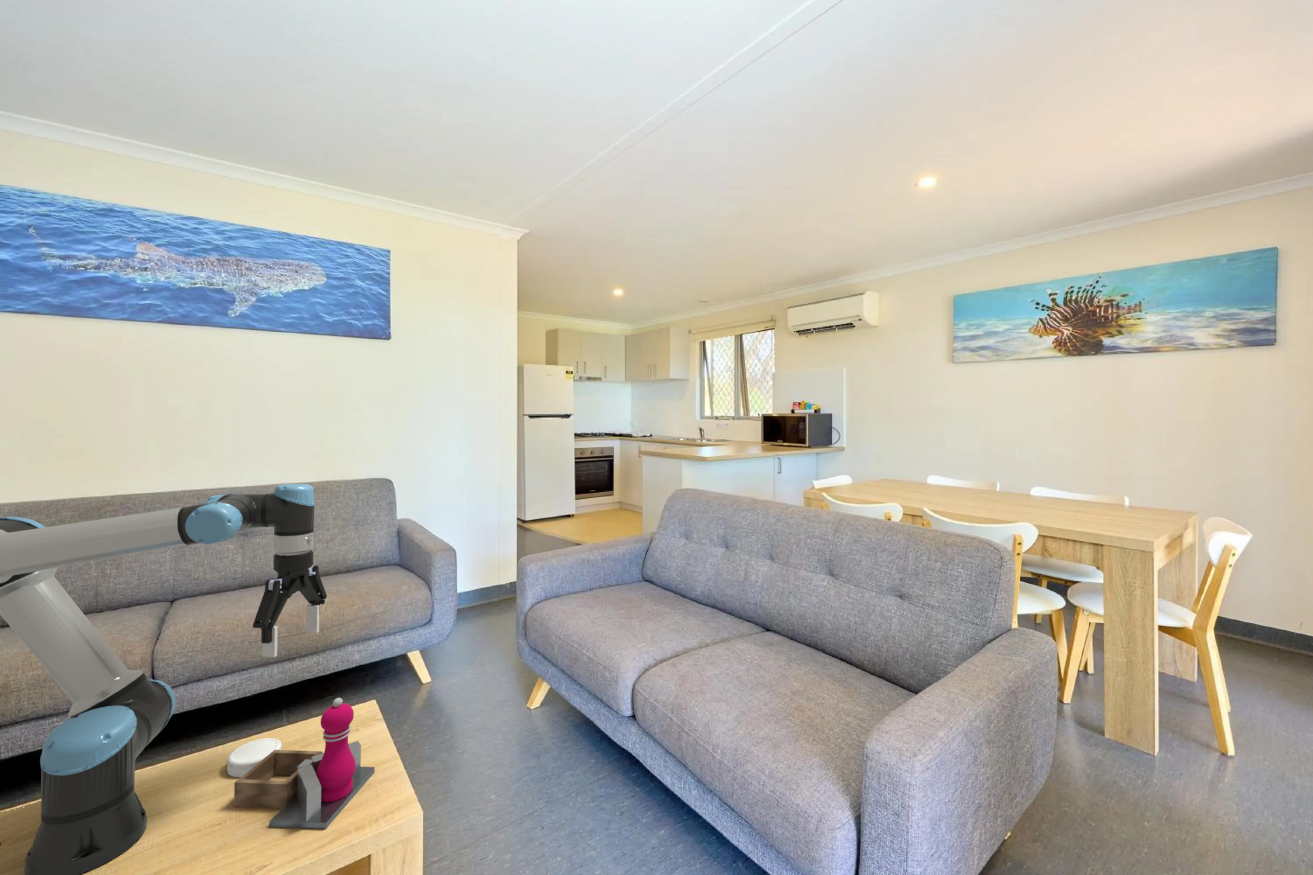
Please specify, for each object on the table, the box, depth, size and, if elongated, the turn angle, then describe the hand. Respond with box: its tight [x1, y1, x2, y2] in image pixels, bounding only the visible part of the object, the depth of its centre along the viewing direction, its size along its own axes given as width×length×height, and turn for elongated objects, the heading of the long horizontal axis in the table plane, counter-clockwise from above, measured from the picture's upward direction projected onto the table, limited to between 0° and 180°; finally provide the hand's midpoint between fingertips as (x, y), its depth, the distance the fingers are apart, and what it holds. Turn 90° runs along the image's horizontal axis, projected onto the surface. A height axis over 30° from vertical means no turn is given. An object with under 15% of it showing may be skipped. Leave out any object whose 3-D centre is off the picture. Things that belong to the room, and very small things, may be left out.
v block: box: [269, 740, 376, 830], centre depth 110 cm, size 17×11×7 cm, turn 179°
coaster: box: [226, 737, 283, 778], centre depth 121 cm, size 10×10×4 cm
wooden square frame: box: [233, 749, 323, 809], centre depth 112 cm, size 11×11×5 cm
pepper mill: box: [316, 697, 356, 802], centre depth 110 cm, size 7×7×20 cm
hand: (292, 643), depth 119 cm, fingers open, 13 cm apart
